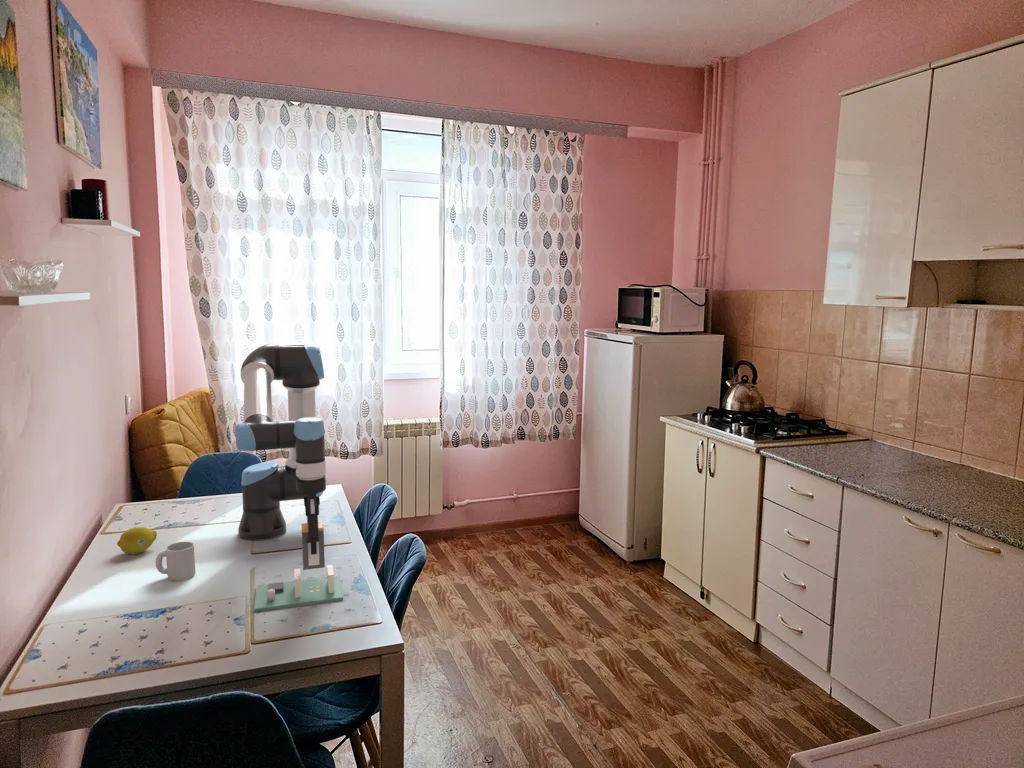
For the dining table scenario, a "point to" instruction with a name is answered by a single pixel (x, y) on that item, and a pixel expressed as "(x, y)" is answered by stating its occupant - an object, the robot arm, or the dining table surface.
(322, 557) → the plug
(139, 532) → the lemon
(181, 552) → the cup
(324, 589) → the board
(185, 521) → the dining table surface
